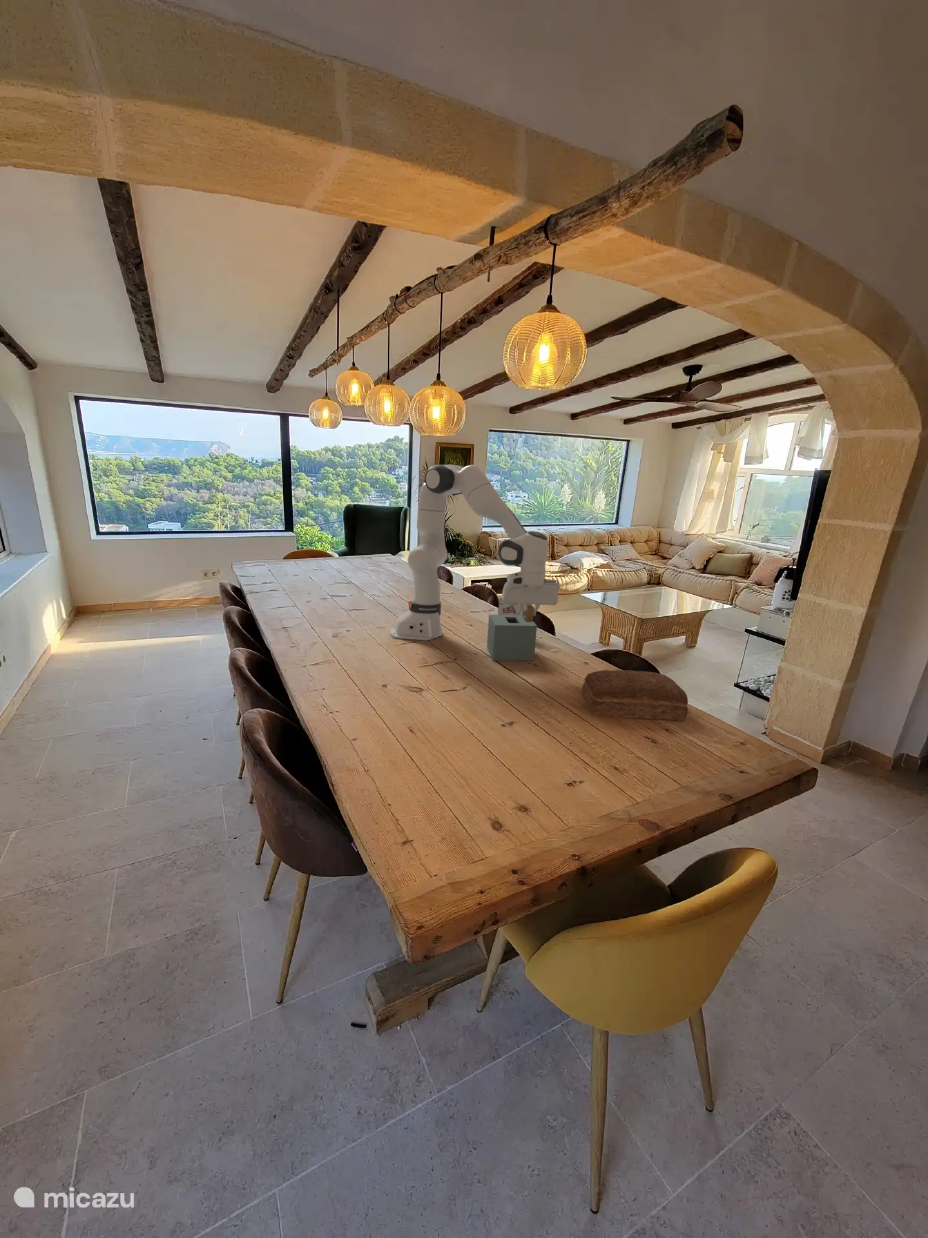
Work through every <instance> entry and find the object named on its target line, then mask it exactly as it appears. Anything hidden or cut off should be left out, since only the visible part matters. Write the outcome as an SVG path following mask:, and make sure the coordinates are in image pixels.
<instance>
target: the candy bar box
mask: <svg viewBox="0 0 928 1238" xmlns="http://www.w3.org/2000/svg"><path fill="white" fill-rule="evenodd" d="M522 609H524V604H523V607H522ZM520 613H521V610H520V608H519V605H518V604H515V603H504V602H503V600H502V596H501V597H499V599H498V611H497V615H521V614H520Z"/></svg>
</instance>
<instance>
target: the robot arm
mask: <svg viewBox="0 0 928 1238" xmlns="http://www.w3.org/2000/svg"><path fill="white" fill-rule="evenodd" d="M461 494H462V495H463V497H464V499H465V501H466V502H467V504H468V506H469V507H470V509H471V510H472V511H473V512H474V513H475V514H476V516H479V517H483V518H485V519H488V520H491V521H494V522H496V523H497V524H499V525H500V526H501V527H502V528H503V530H504V531H505V533H506V534H507V536H508V537H509V538H508V539H505V540H502V542H501V543H500V544H499V545H498V546H499V547H498V551H497V552H498V553H497V554H498V558H499V560H500V562H501V563H502V564H504V565H506V566H509V567H510V566H512V567H513V566H520V571H517V572H514V573H510V574H507V575H506V580H507V581H505V583H504V585H503V588H502V592H501V597H502V600H503V602H504V603H515V604H518V605H519V608H520V610H521V613H520V614H521V615H522V616H525V613H526V611H525V610H523V609H522V607H523V604H532V605H534V606H535V607H534V613H533V617H536V615H537V611H539V609H540V606H541V605H543V606H556V605H557V604H558V601H559V590H560V586H561V583H560V582H559V581H558V580H557V579H553V578H552V579H548V578H546V572H547V571H546V563H547V561H548V556H549V555H548V553H549V539H548V537H547V536H546V535H545V534H543V533H541V532H538V531H527V530H526V529H525V527H524V526H523V525H522V523H521V522H520V520H519V519H518V518H517V516H516V515H515V514H514V513H513V511H512V510H511V509H510V507H509V506H508V505H507V504H506V502H505V501H503V499H502V498H501V496H500V495H499V494H498V492H497V490H496V488H495V487H494V486H493V484H492V482H491V481H490V480H489V478H488V477H487V475H486V474H485V472H483V470H482V469H481V468H480V467H479V466H478V465H475V464H469V465H466V466H463V465H458V464H457V465H456V464H451V463H450V464H433V465H432V466H430V467H428V469H426V471H425V474H424V482H423V483H422V485H421V487H420V492H419V494H418V495H419V496H418V501H417V502H418V503H417V519H416V530H417V531H418V534H419V542H420V544H419V545H418V546H416V547H414V548H413V549H412V550H411V551H410V553H408V557H407V563H408V566H409V568H410V569H411V574H412V577H413V578H412V579H413V586H414V587H413V591H414V592H413V595H414V596H413V600H412V599H410V600H408V602H407V604H408V610H406V611H405V612H404V613H403V614H400V616H398V617H397V619H396V623H395V626H393V627H391V629H390V634H389V635H390V636H391V638H394V639H400V640H401V639H402V640H414V639H415V641H418V640H419V641H431V640H433V639H435V638H436V639H437V638H439V636H440V637H441V636H443V629H442V623H441V613H442V602H441V588H442V587H441V582H440V581H439V576H438V575H439V574H438V568H439V567H441V566H442V565H443V564H444V563H445V561H446V559H447V557H448V550H447V548H446V540H445V539H446V538H445V521H446V520H445V519H446V518H445V517H446V502H447V499H448V497H449V496H452V497H453V496H454V497H455V496H457V495H461Z"/></svg>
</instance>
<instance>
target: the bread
mask: <svg viewBox="0 0 928 1238" xmlns="http://www.w3.org/2000/svg"><path fill="white" fill-rule="evenodd" d="M581 689H582V690H581V692H582V696H583V697H584V699H585V701H586V703H587V705H588V708H589V711H590V713H592V715H593V716H594V717H605V718H623V719H624V718H625V719H642V720H644V719H647V720H666V719H667V720H671V721H675V722H676V721H678V722H685V721H686V720H687V718H688V715H689V714H688V713H689V712H688V703H689V699H688V695H687V693H686V692H685V691H684V689H683V688H681V687H680V685H678V684H677V682H676V681H674V680H673V679H672V678H671V677H668V676H667V675H666V674H663V673H657V672H652V671H644V670H631V669H630V670H629V669H627V670H626V669H625V670H624V669H616V670H614V669H613V670H610V669H609V670H608V669H603V670H598V671H597V670H596V671H592V672H590V673H587V675H586V676H585V678H584V683H583V684H582V687H581Z"/></svg>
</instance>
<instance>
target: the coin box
mask: <svg viewBox="0 0 928 1238" xmlns="http://www.w3.org/2000/svg"><path fill="white" fill-rule="evenodd" d="M487 627H488V628H487V641H486V649H487V651H488V650H489V651H488V653H489V655H491V656H490V658H491V660H492V661H515V660H535V649H536V643H537V642H536V640H537V632H538V631H537V629H538V625H537V624H536V623H535V622H534V621H532V622H526V621H525V620H524V619H523V616H522V615H498V614H488V626H487Z"/></svg>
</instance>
